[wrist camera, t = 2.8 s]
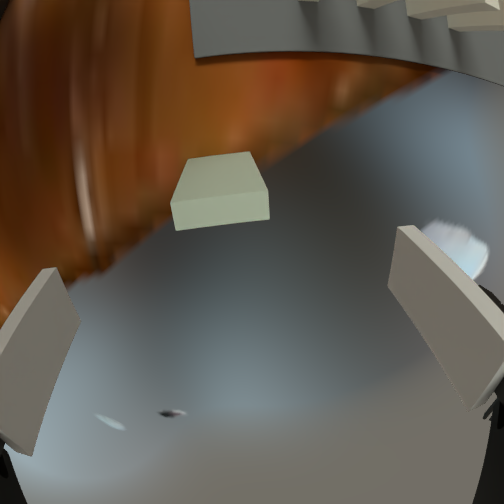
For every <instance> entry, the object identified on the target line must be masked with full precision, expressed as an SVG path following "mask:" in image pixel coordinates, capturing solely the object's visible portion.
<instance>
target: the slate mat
mask: <svg viewBox="0 0 504 504" xmlns="http://www.w3.org/2000/svg"><path fill="white" fill-rule="evenodd" d="M189 1H190V13H191V25H192V36H193V47H194V57H195V58H202V57H210V56H219V55H229V54H240V53H255V52H284V51H303V52H332V53H347V54H358V55H368V56H376V57H384V58H391V59H398V60H404V61H410V62H415V63H420V64H425V65H430V66H435V67H439V68H443V69H447V70H452V71H456V72H459V73H463V74H467V75H470V76H474V77H477V78H480V79H483V80H486V81H490V82H493V83H495V84H498V85H502V86H504V31H463V32H459V31H456V30H453V29H451V28H448V20H447V15H446V16H439V17H433V18H427V19H422V20H421V19H417V18H413V17H410V16H407V9H406V2H405V0H397V1H394V2H392V3H389V4H386V5H383V6H381V7H378V8H375V9H372V8H366V7H359V6H357V1H356V0H319V1H318V2H314V1H298V0H189Z"/></svg>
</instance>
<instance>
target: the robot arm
mask: <svg viewBox="0 0 504 504" xmlns="http://www.w3.org/2000/svg"><path fill="white" fill-rule="evenodd" d="M8 1H9V0H0V19H1V17H2V15H3V13H4V11H5V9H6V6H7V4H8ZM388 287H389V289H390V290H391V292H392V293H393V294H394V296H395V297H396V299H397V300H398V301H399V303H400V304H401V306H402V307H403V309H404V310H405V311H406V313H407V314H408V316H409V317H410V319H411V320H412V322H413V323H414V325H415V326H416V327H417V329H418V331H419V332H420V334H421V335H422V337H423V338H424V340H425V341H426V343H427V344H428V346H429V348H430V349H431V350H432V352H433V354H434V355H435V357H436V359H437V360H438V362H439V363H440V365H441V367H442V368H443V370H444V371H445V373H446V375H447V376H448V378H449V379H450V381H451V383H452V385H453V387H454V388H455V390H456V391H457V393H458V395H459V397H460V399H461V400H462V402H463V404H464V405H465V407H466V409H467V411H468V412H469V411H471V410H473V409H475V408H477V407H479V406H481V405H483V404H485V403H486V401H487V400H488V399H489V397H490V396H491V395H492V393H493V392H495V393H496V395H497V399H496V400H495V401H494V402H493V404H492V405H491V406H490V407H489V409H488V410H487V411H486V412H485V414H484V416H483V419H486V418H487V417H488V415H489V414H490V413H491V412H492V411H493V413H492V416H491V418H490V419H489V420H490V421H491V427H490V433H489V439H488V444H487V450H486V455H485V459H484V464H483V468H482V472H481V476H480V480H479V483H478V487H477V490H476V494H475V497H474V500H473V504H504V305H503V304H501V302H500V301H499V300H498V299H497V298H496V296H494V294H493V293H492V292H490V291H489V290H487V289H485V288H484V287H482V286H481V285H477V284H476V283H475V282H474V281H473V280H472V279H471V278H470V277H469V276H468V275H467V274H466V273H465V272H464V271H463V270H462V269H461V268H460V267H459V266H458V265H457V264H456V263H455V262H454V261H453V260H452V259H451V258H449V257H448V256H447V255H446V254H445V253H444V252H443V251H442V250H441V249H440V248H439V247H438V246H437V245H435V244H434V243H433V242H432V241H431V240H430V239H429V238H428V237H427V236H425V235H424V234H423V233H422V232H421V231H420V230H419V229H417V228H416V227H415V226H414V225H411V226H401V227H397V234H396V240H395V247H394V253H393V260H392V265H391V271H390V276H389V282H388ZM80 322H81V320H80V318H79V316H78V314H77V312H76V310H75V308H74V306H73V303H72V302H71V299H70V297H69V295H68V293H67V290H66V288H65V286H64V284H63V281H62V279H61V277H60V274H59V272H58V270H57V267H54V268H47V269H42V270H41V272H40V273H39V274H38V276H37V277H36V278H35V280H34V281H33V282H32V284H31V285H30V286H29V288H28V289H27V291H26V292H25V293H24V295H23V296H22V298H21V299H20V300H19V302H18V303H17V305H16V306H15V308H14V309H13V311H12V312H11V314H10V315H9V317H8V318H7V320H6V321H5V323H4V325H3V326H2V328H1V329H0V504H27V502H26V499H25V497H24V495H23V492H22V490H21V487H20V485H19V482H18V479H17V477H16V474H15V471H14V469H13V466H12V462H11V460H10V457H9V454H8V452H7V451H6V450H5V449H4V445H5V443H6V444H7V445H8V446H10V447H11V448H12V449H13V450H14V451H16V452H18V453H21V454H25V455H28V456H32V455H33V451H34V447H35V444H36V440H37V437H38V433H39V430H40V427H41V424H42V420H43V417H44V414H45V411H46V408H47V405H48V402H49V400H50V397H51V394H52V391H53V388H54V386H55V383H56V380H57V377H58V375H59V372H60V370H61V367H62V365H63V362H64V360H65V357H66V355H67V352H68V350H69V348H70V345H71V343H72V341H73V338H74V336H75V334H76V331H77V329H78V327H79V325H80Z"/></svg>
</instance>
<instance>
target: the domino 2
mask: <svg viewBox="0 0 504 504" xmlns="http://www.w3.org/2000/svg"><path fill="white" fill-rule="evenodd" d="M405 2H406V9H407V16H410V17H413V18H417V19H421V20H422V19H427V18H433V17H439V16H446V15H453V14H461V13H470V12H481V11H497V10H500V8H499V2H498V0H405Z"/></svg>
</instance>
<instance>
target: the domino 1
mask: <svg viewBox="0 0 504 504" xmlns="http://www.w3.org/2000/svg"><path fill="white" fill-rule="evenodd" d="M170 204H171V209H172V214H173V219H174V224H175V229H176V231H177V230H185V229H193V228H200V227H208V226H216V225H225V224H233V223H241V222H250V221H259V220H268V219H270V215H269V200H268V190H267V188H266V185H265V183H264V181H263V179H262V177H261V175H260V173H259V170H258V168H257V166H256V164H255V162H254V160H253V158H252V156H251V154H250V152H241V153H232V154H223V155H215V156H207V157H200V158H192V159H188V160H187V163H186V165H185V167H184V170H183V172H182V175H181V177H180V180H179V182H178V184H177V187H176V189H175V192H174V194H173V197H172V199H171V202H170Z"/></svg>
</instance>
